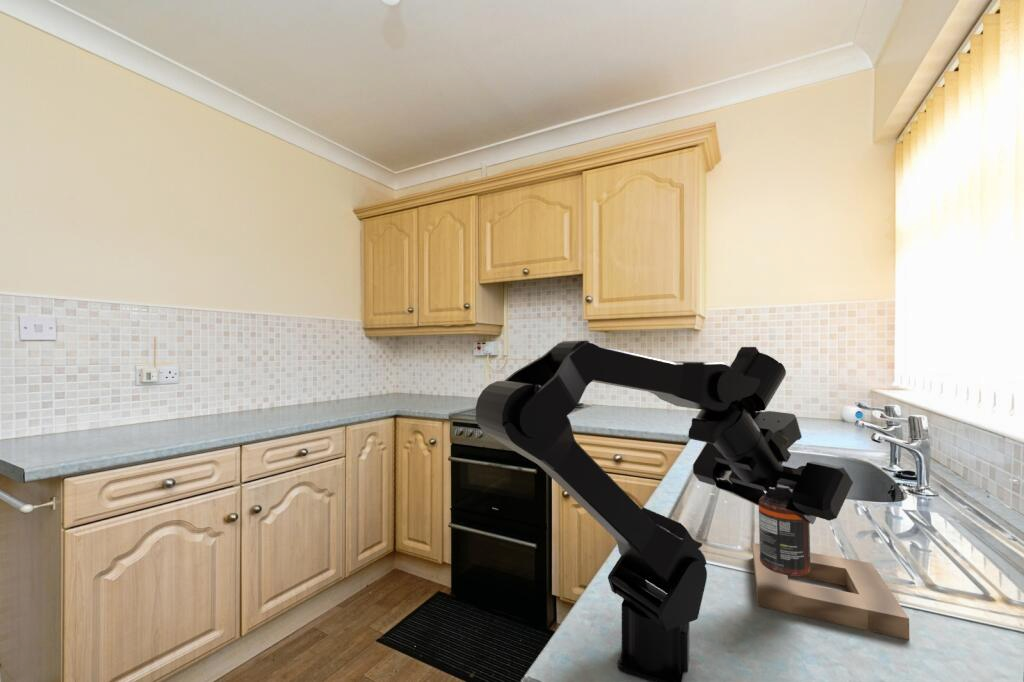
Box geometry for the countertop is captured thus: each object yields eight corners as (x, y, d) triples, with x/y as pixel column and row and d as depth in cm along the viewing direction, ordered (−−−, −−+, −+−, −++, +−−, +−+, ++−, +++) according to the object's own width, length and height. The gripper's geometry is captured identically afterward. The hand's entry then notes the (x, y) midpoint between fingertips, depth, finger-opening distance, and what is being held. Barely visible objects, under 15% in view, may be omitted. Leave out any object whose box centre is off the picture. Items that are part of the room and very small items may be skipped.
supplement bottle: (791, 557, 64) (790, 477, 64) (821, 578, 58) (820, 490, 58) (750, 557, 64) (749, 477, 64) (776, 578, 58) (775, 490, 58)
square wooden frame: (757, 605, 61) (757, 587, 61) (752, 557, 75) (752, 542, 75) (909, 639, 54) (909, 618, 54) (872, 579, 68) (871, 563, 68)
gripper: (843, 398, 51) (891, 484, 56) (705, 387, 68) (752, 454, 73) (803, 475, 48) (859, 560, 52) (668, 443, 64) (719, 510, 69)
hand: (789, 513), depth 62 cm, fingers closed on supplement bottle, 6 cm apart
